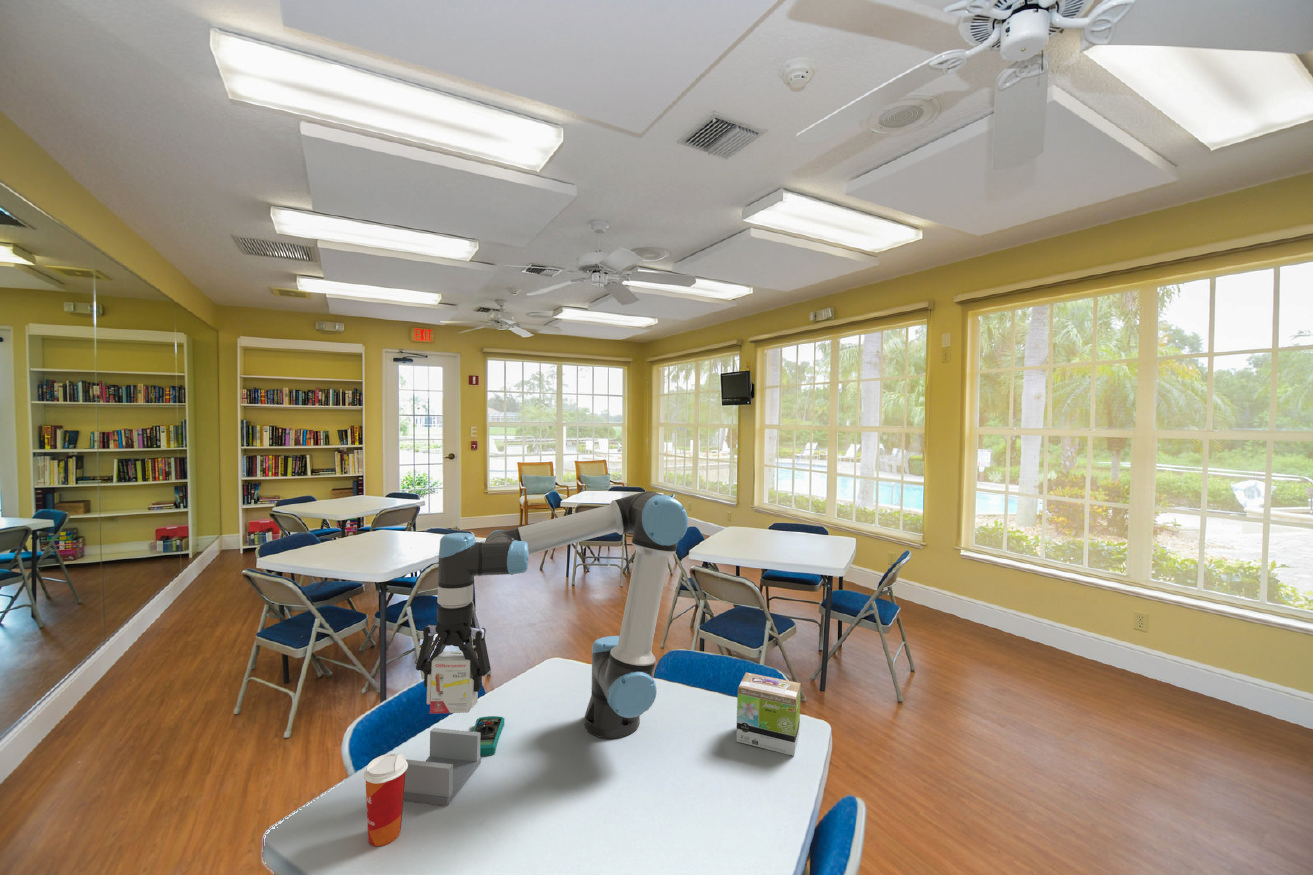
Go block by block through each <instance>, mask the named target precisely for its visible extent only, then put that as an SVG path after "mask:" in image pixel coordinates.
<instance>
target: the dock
mask: <svg viewBox="0 0 1313 875" xmlns="http://www.w3.org/2000/svg"><path fill="white" fill-rule="evenodd" d="M480 734H481V733H480V732H473V731H468V730H458V729H449V728H439V727H433V728H432V729H431V730H429V756H428V758H427V759H426V760H425V761H424V760H416V759H415V760H414V759H406V758H405V759H406V761H407V763H408V768H407V770H406V775H405V787H404V799H403V802H405V801H406V802H410V803H411V802H413V803H419V804H420V803H421V804H428V805H434V806H435V805H436V806H444V807H445V806H446V807H448V806H449V804H450V803H451V802H452V801H453V800H454V798H455V797H456V795H458V793H460V790H461V789H462V788H463V786H464V785H466V783H467V781H469V779H470V778H471V776H472V775H473V774H474V772H475V771H476V770H477V768H478V767H479V766H481V762H482V756H480Z"/></svg>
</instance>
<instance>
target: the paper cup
mask: <svg viewBox="0 0 1313 875" xmlns="http://www.w3.org/2000/svg"><path fill="white" fill-rule="evenodd" d="M407 768H408V763H407V761H406V757H405V755H403V754H401V753H398V754H396V753H390V754H387V753H385V754H382V755H380V756H377V757H375V758H374V759H372V760H371V761H370V762H369V763H368V764H367V766H366V768H365V771H364V772H363V780H365V796H366V797H365V799H366V821H367V822H366V824H367V825H366V826H367V838H368V843H369V844H370V846H372V847H384V846H386V845H390V844H391V843H393V842H394V841H395V840H396V839H398V837H399V836H400V835H401V831H402V830H401V829H402V821H403V820H402V819H403V810H404V801H403V799H404V787H405V775H406V770H407Z"/></svg>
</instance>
